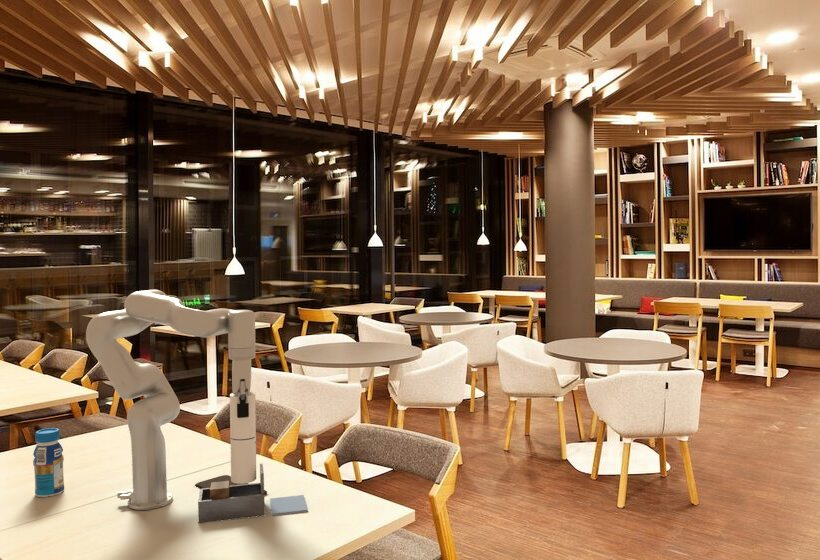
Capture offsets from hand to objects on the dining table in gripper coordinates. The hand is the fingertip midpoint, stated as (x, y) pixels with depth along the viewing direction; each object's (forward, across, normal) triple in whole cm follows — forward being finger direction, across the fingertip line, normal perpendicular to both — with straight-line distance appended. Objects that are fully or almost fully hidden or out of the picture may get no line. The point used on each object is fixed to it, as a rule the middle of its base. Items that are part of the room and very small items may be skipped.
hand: (242, 413), depth 189 cm
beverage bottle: (+30, -33, -59) cm, 74 cm away
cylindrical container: (+19, 0, 0) cm, 19 cm away
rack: (+29, 0, -3) cm, 29 cm away
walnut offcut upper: (+24, 0, -7) cm, 25 cm away
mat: (+28, 0, +13) cm, 31 cm away
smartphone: (+29, -19, -4) cm, 35 cm away
